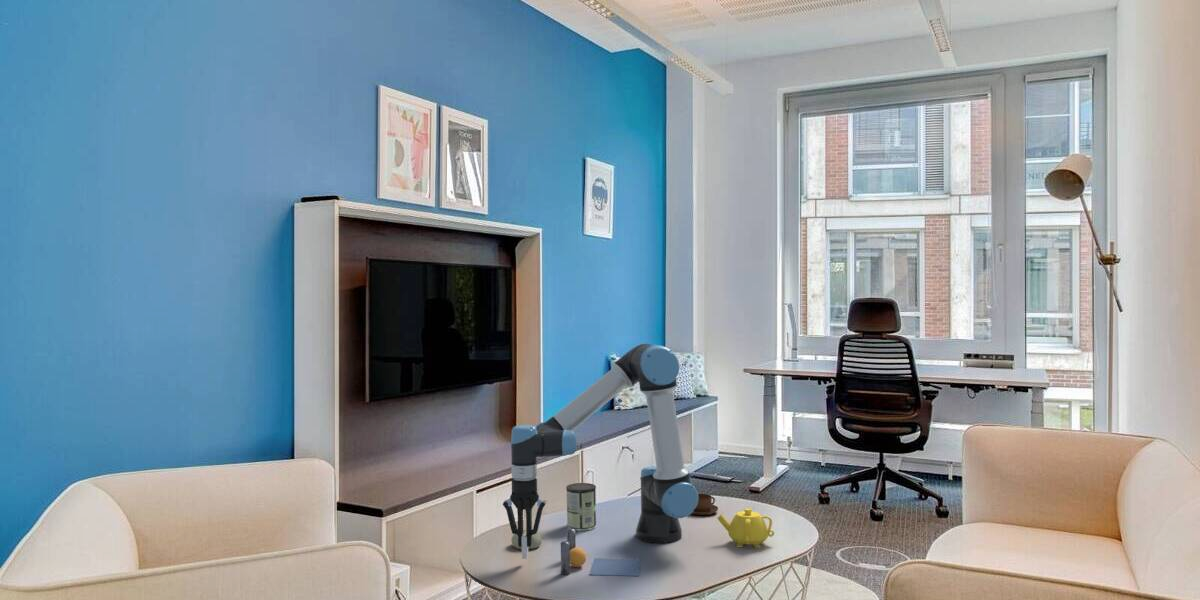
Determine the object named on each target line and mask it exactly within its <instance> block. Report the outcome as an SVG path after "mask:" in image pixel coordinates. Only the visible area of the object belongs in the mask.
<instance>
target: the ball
mask: <svg viewBox="0 0 1200 600" xmlns="http://www.w3.org/2000/svg"><path fill="white" fill-rule="evenodd" d="M586 561H587V554H586V552H585V550H583V548H581V547H576V548H573V549H571V550H570V566H572V567H573V568H580V567H582V566H583V565H584V564H585V563H586Z"/></svg>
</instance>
